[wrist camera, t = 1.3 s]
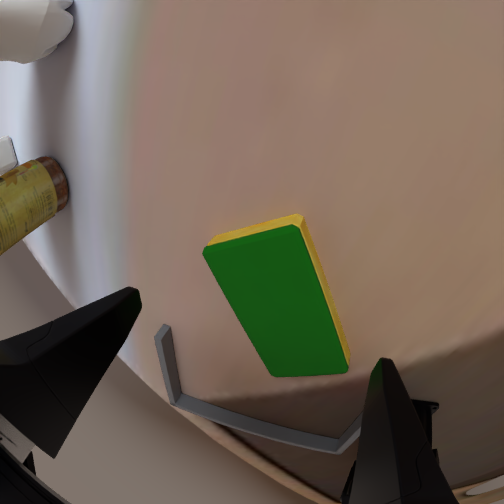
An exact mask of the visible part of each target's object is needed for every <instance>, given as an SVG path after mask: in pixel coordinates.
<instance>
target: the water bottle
mask: <svg viewBox="0 0 504 504" xmlns="http://www.w3.org/2000/svg"><path fill="white" fill-rule="evenodd" d="M72 3H73V0H0V61H14V62H18V63H22V64H26V63H30V62H34V61H36V60H39V59H42V58H44V57H46V56H48V55H49V54H51V53H52V52H53V51H54V50H55V49H56V48H57V44H58V43H60V42H61V41H63V40H64V39H65V38H66V37H67V35H68V34H69V33H70V31H71V29H72V26H73V18H74V17H73V16H72V15H71V14H70V13H68V12H67V11H65V9H66V8H68V7H69V6H70V5H72Z"/></svg>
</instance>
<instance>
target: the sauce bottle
mask: <svg viewBox="0 0 504 504" xmlns="http://www.w3.org/2000/svg"><path fill="white" fill-rule="evenodd" d="M67 200H68V185H67V182H66V178H65V175H64V173H63V171H62V170H61V168H60V166H59V165H58V163H57V162H56V161H55V160H54V159H52V158H50V157H46V156H45V157H40V158H38V159H36V160H30V161H28V162H26V163H24V164H22V165H20V166H18V167H16V168H14V169H12V170H10V171H9V172H7V173H5V174H3V175H1V176H0V255H2V254H3V253H4V252H6V251H7V250H8V249H9V248H11V247H12V246H13V245H15V244H16V243H17V242H19V241H20V240H21V239H23V238H24V237H25V236H27V235H28V234H29V233H31V232H32V231H33V230H35V229H36V228H38V227H39V226H40V225H42V224H43V223H45V222H46V221H48V220H49V219H51V218H52V217H54V216H55V213H57V212H59V211H60V210H62V209H63V208H64V207H65V206H66V203H67Z"/></svg>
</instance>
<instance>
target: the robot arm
mask: <svg viewBox="0 0 504 504" xmlns="http://www.w3.org/2000/svg"><path fill="white" fill-rule="evenodd" d="M141 309H142V303H141V298H140V293H139V290H138V289H136V288H133V287H126V288H124V289H122V290H119V291H117V292H115V293H113V294H110V295H108V296H106V297H104V298H101V299H99V300H97V301H95V302H92V303H90V304H88V305H86V306H84V307H81V308H79V309H77V310H75V311H73V312H70V313H68V314H66V315H64V316H62V317H59V318H57V319H55V320H54V321H51V322H48V323H46V324H44V325H42V326H39V327H37V328H35V329H32V330H30V331H27V332H25V333H21V334H19V335H16V336H13V337H11V338H8V339H5V340H1V341H0V504H71V503H69V502H68V501H67V500H65V499H64V498H63V497H61V496H60V495H59V494H57V493H56V492H55V491H53V490H52V489H51V488H50V487H48V486H47V485H46V484H45V483H43V482H42V481H41V480H40V479H39V478H38V477H36V472H35V466H34V460H33V454H32V451H31V450H32V449H33V447H34V446H35V445H36V446H38V447H39V448H40V449H41V450H43V451H44V452H45V453H46V454H48V455H49V456H51V457H52V458H53V459H54V458H55V457H56V455H57V454H58V452H59V450H60V448H61V446H62V445H63V443H64V441H65V439H66V438H67V436H68V434H69V432H70V431H71V429H72V427H73V425H74V423H75V422H76V420H77V418H78V417H79V415H80V413H81V411H82V410H83V408H84V406H85V405H86V403H87V401H88V400H89V398H90V396H91V395H92V393H93V391H94V390H95V388H96V386H97V385H98V383H99V382H100V380H101V378H102V377H103V375H104V373H105V372H106V370H107V369H108V367H109V366H110V364H111V362H112V361H113V359H114V358H115V356H116V355H117V353H118V352H119V350H120V348H121V347H122V345H123V344H124V342H125V340H126V339H127V337H128V335H129V333H130V331H131V329H132V327H133V325H134V323H135V321H136V319H137V317H138V315H139V313H140V311H141ZM438 409H439V404H438V403H434V402H426V401H419V400H412V399H410V397H409V394H408V392H407V390H406V388H405V386H404V383H403V381H402V379H401V377H400V375H399V373H398V371H397V369H396V366H395V364H394V362H393V361H392V360H391V359H388V358H383V357H382V358H380V359H379V361H378V362H377V364H376V366H375V367H374V369H373V371H372V373H371V376H370V381H369V386H368V391H367V396H366V400H365V405H364V410H363V415H362V422H361V431H360V439H359V446H358V454H357V460H355V461H354V464H353V467H352V468H351V471H350V473H349V476H348V479H347V482H346V484H345V487H344V489H343V492H342V495H341V497H340V501H341V502H342V504H459V503H458V501H457V500H456V498H455V496H454V494H453V492H452V490H451V488H450V486H449V484H448V482H447V480H446V478H445V476H444V475H443V473H442V471H441V469H440V466H439V457H438V451H437V449H432V414H433V413H434V412H436V411H437V410H438Z"/></svg>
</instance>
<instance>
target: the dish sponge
mask: <svg viewBox="0 0 504 504" xmlns="http://www.w3.org/2000/svg"><path fill="white" fill-rule="evenodd" d="M202 254H203V256H204V258H205V260H206V262H207V264H208V266H209V267H210V269H211V271H212V273H213V275H214V277H215V278H216V280H217V282H218V284H219V286H220V287H221V289H222V291H223V293H224V295H225V296H226V298H227V300H228V302H229V304H230V305H231V307H232V309H233V311H234V312H235V314H236V316H237V318H238V320H239V321H240V323H241V325H242V327H243V328H244V330H245V332H246V333H247V335H248V337H249V339H250V340H251V342H252V344H253V346H254V347H255V349H256V351H257V352H258V354H259V356H260V357H261V359H262V361H263V363H264V364H265V366H266V368H267V369H268V371H269V373H270V374H271V375H272V376H274V377H298V376H317V375H331V374H343V373H346V372H347V371H348V368H349V367H348V365H349V360H350V351H349V348H348V344H347V341H346V338H345V335H344V332H343V328H342V325H341V322H340V319H339V316H338V313H337V310H336V307H335V304H334V301H333V298H332V295H331V292H330V289H329V286H328V283H327V280H326V277H325V274H324V272H323V269H322V266H321V263H320V260H319V257H318V255H317V252H316V249H315V246H314V244H313V241H312V238H311V235H310V233H309V230H308V227H307V225H306V222H305V219H304V217H303V216H301V215H299V214H293V215H289V216H286V217H282V218H278V219H274V220H271V221H267V222H263V223H260V224H256V225H252V226H249V227H245V228H241V229H238V230H234V231H230V232H227V233H223V234H220V235H216V236H214V237H213V239H212V240H211V241H210V242H209V243H208V245H207V246H206V247H205V248H204V250H203V253H202Z"/></svg>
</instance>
